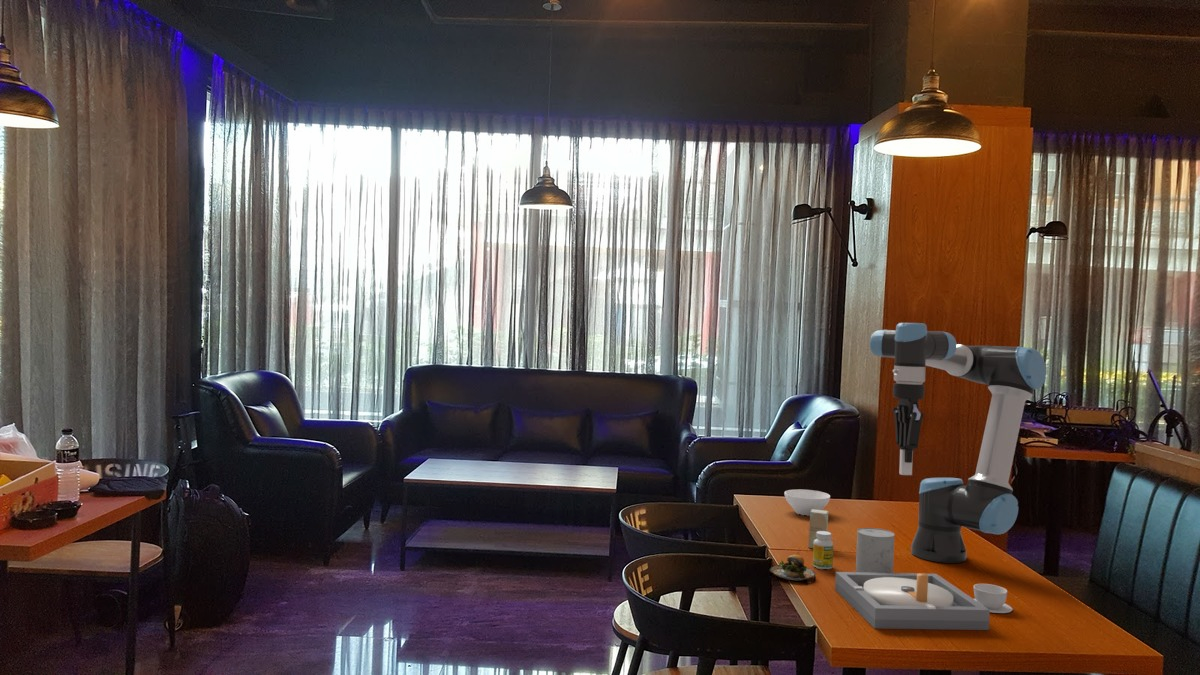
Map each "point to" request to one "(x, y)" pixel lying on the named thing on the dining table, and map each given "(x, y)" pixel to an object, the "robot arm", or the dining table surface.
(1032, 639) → the dining table surface
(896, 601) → the dial
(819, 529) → the box
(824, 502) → the bowl
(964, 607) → the grey square tray
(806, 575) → the multicoloured round food plate
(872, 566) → the gray speckled cylinder
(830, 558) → the supplement bottle
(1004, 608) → the teacup
